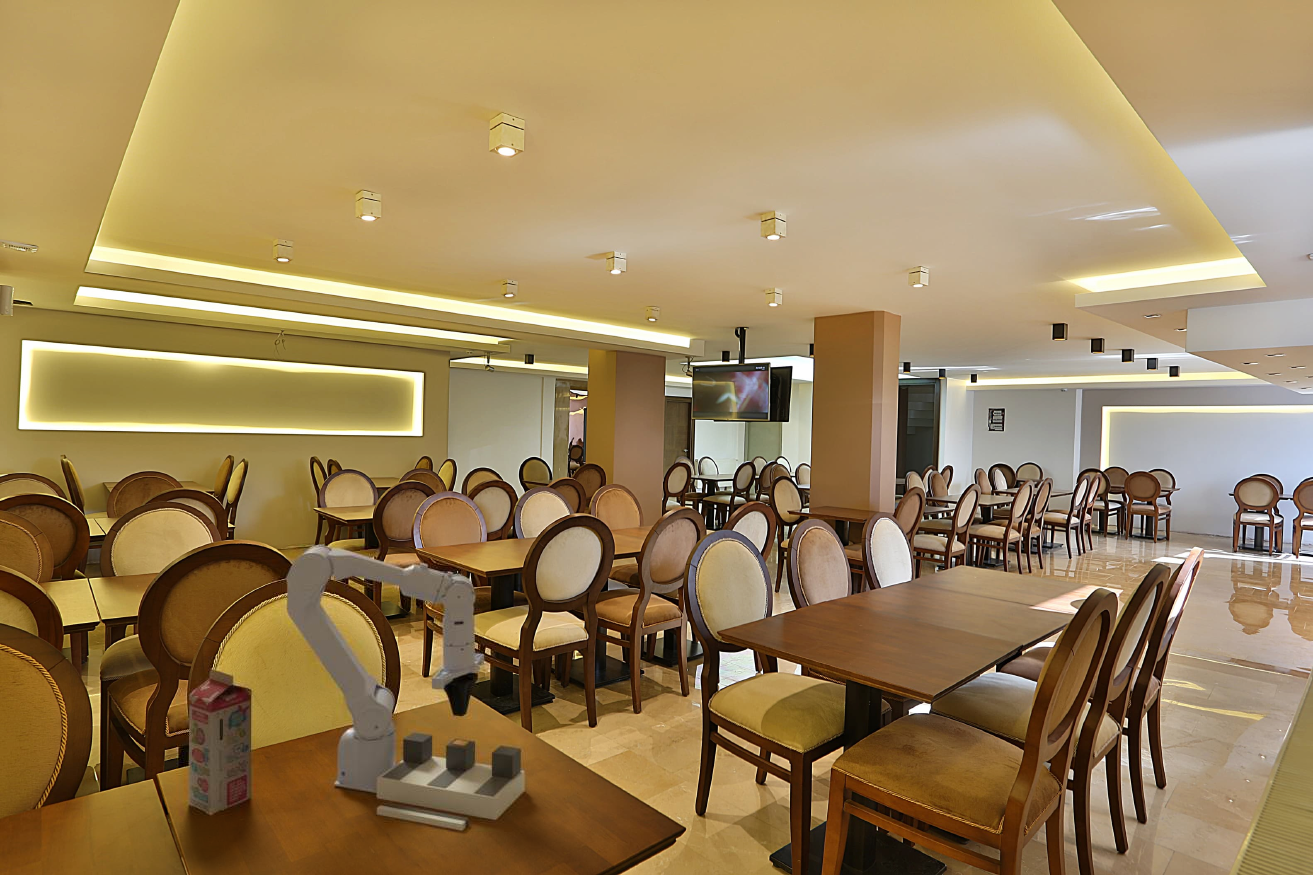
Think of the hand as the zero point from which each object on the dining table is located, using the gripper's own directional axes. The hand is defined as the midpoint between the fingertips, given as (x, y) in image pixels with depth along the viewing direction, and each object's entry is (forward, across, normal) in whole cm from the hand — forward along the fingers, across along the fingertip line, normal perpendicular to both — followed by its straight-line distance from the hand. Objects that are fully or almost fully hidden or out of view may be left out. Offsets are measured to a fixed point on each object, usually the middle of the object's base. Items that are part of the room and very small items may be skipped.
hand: (459, 714), depth 133 cm
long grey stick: (+10, -16, -4) cm, 20 cm away
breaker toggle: (+7, -6, -4) cm, 9 cm away
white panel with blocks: (+10, -8, -4) cm, 14 cm away
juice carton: (+10, -22, +32) cm, 41 cm away
